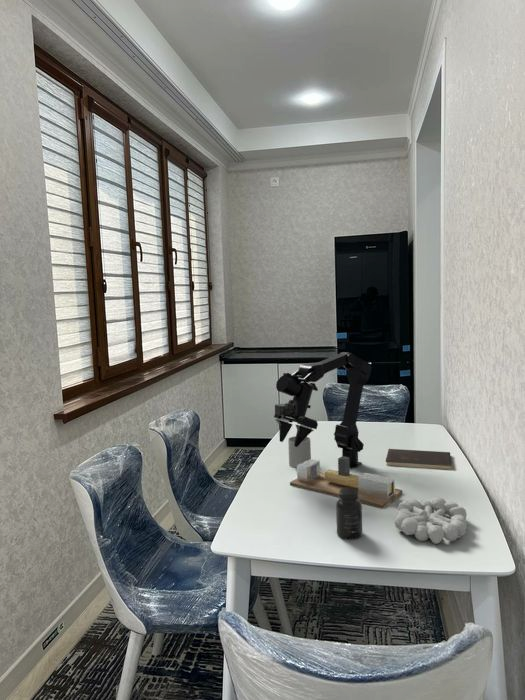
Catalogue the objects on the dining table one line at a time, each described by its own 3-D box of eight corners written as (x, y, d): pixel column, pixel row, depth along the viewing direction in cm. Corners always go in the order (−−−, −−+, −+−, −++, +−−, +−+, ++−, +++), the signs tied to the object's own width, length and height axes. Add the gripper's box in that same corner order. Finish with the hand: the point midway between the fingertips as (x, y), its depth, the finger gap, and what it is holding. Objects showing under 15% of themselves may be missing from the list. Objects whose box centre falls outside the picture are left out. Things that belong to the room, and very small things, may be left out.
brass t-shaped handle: (329, 477, 171) (329, 453, 170) (391, 491, 157) (391, 465, 156) (324, 480, 169) (324, 455, 168) (387, 495, 155) (387, 468, 154)
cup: (313, 462, 194) (312, 436, 193) (308, 469, 186) (307, 442, 185) (292, 460, 197) (291, 435, 196) (286, 467, 189) (285, 441, 188)
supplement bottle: (334, 529, 138) (333, 486, 136) (358, 527, 138) (357, 485, 137) (339, 541, 131) (338, 496, 130) (365, 539, 131) (365, 494, 130)
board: (312, 472, 182) (312, 470, 182) (402, 493, 161) (402, 490, 161) (289, 484, 171) (289, 482, 171) (382, 508, 150) (382, 505, 150)
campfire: (491, 542, 128) (491, 519, 127) (413, 552, 124) (412, 529, 124) (446, 508, 149) (445, 489, 149) (378, 516, 146) (378, 497, 146)
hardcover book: (451, 471, 180) (451, 465, 180) (385, 466, 187) (385, 460, 187) (449, 457, 195) (449, 451, 195) (388, 453, 202) (388, 448, 202)
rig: (310, 473, 179) (309, 458, 179) (396, 492, 159) (396, 476, 158) (297, 480, 173) (296, 465, 172) (385, 501, 153) (385, 484, 152)
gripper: (268, 390, 177) (255, 433, 175) (297, 395, 161) (283, 443, 159) (293, 399, 182) (280, 441, 180) (324, 405, 166) (311, 451, 164)
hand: (288, 444), depth 171 cm, fingers open, 9 cm apart
